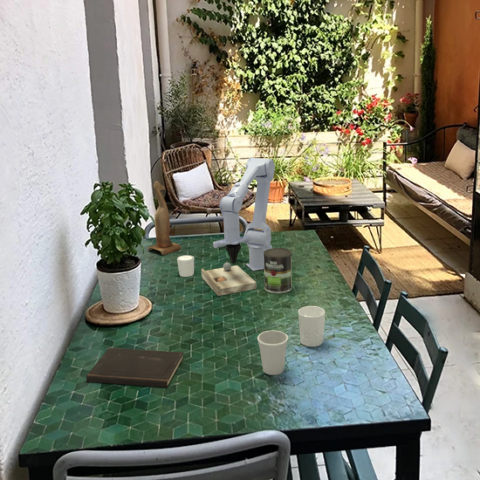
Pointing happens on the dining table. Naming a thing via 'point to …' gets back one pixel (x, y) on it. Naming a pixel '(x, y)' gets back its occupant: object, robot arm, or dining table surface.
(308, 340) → the white cup
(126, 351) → the hardcover book
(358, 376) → the dining table surface
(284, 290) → the coffee can
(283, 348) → the dixie cup
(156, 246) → the bird sculpture
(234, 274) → the light wood flat tray
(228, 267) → the grey ball
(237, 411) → the dining table surface
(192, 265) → the white tapered cylinder
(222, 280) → the ball
